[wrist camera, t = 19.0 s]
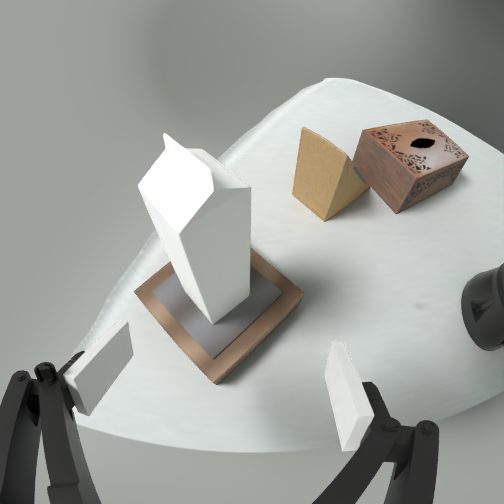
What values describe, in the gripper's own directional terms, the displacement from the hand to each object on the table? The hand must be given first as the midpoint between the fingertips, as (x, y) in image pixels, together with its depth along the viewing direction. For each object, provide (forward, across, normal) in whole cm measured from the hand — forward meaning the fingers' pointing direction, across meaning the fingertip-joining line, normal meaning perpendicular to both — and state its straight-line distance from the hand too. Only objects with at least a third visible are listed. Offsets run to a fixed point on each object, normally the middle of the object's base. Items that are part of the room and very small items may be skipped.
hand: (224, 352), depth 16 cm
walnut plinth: (+21, -4, -6) cm, 22 cm away
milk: (+18, -4, -4) cm, 19 cm away
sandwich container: (+39, +14, +10) cm, 43 cm away
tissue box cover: (+45, +34, +16) cm, 59 cm away
